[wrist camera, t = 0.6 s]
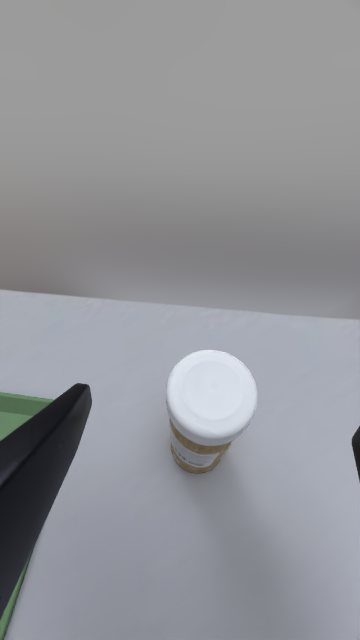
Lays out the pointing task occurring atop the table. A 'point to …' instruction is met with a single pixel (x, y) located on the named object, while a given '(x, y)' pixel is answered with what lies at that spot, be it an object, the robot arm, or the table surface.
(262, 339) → the table surface
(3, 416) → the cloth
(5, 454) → the robot arm
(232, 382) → the sprinkles bottle
